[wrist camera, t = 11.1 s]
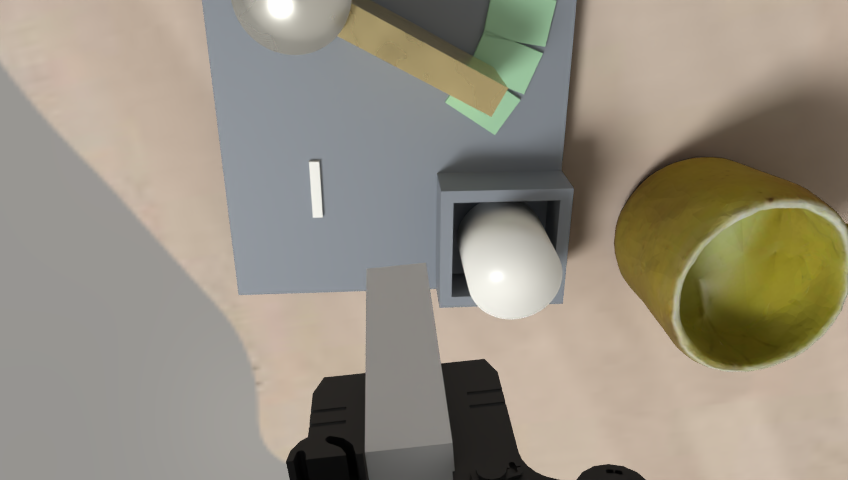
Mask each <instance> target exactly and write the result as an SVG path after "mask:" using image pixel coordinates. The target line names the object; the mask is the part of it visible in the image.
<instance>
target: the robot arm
mask: <svg viewBox="0 0 848 480" xmlns="http://www.w3.org/2000/svg"><path fill="white" fill-rule="evenodd" d="M286 464H287V468H288V473H289V478H290V480H558V479H554V478H549V477H546V476H543V475H541V474H539V473H537V472H535V471H534V470H532V469H531V468H529V467H528V466H527V465H526V464H525V463H524V461H523V460H522V459H521V457H520V454H519V452H518V449H517V445H516V441H515V437H514V433H513V430H512V426H511V422H510V418H509V414H508V410H507V407H506V404H505V399H504V395H503V392H502V387H501V384H500V380H499V376H498V372H497V371H496V370H495V369H494V368H493V367H492V366H491V365H490V364H489V363H488V362H487V361H486V360H485V359H480V360H470V361H461V362H451V363H442V364H441V361H440V354H439V348H438V341H437V334H436V327H435V320H434V314H433V307H432V300H431V293H430V286H429V280H428V273H427V266H426V263H418V264H409V265H399V266H389V267H379V268H369V269H367V273H366V373H362V374H353V375H343V376H334V377H324V378H323V380H322V381H321V383H320V384H319V386H318V387H317V388H316V390H315V391H314V393H313V397H312V406H311V415H310V428H309V433H308V438H306V439H304V440H302V441H300V442H299V443H298V444H297V445H296V446H295V447H294V448H293V449H292V450H291V451H290V453H289V456H288V458H287V461H286ZM577 480H645V479H644V478H643V477H642V476H641V475H640V474H638V473H637V472H635V471H633V470H631V469H628V468H626V467H624V466H617V465H610V464H606V465H599V466H594V467H592V468H590V469H588V470H586V471H584V472H582V473H581V475H580V476H579V477H578V479H577Z"/></svg>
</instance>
